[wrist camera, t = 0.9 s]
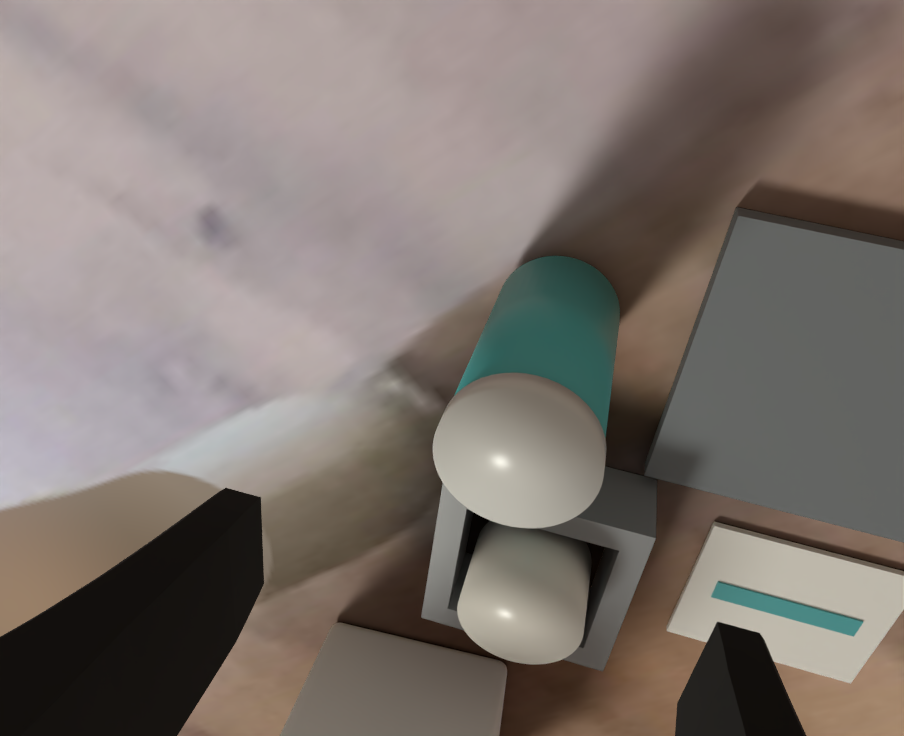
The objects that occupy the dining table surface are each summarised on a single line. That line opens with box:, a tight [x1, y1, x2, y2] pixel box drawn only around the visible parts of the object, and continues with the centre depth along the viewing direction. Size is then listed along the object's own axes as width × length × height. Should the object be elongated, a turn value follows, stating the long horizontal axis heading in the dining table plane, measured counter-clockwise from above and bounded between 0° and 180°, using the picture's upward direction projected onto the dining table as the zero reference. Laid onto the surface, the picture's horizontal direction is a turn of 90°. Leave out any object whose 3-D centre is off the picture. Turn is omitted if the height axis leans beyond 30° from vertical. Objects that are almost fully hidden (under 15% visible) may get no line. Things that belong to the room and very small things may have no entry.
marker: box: [433, 256, 620, 528], centre depth 17 cm, size 3×3×7 cm
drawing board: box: [644, 207, 904, 542], centre depth 19 cm, size 9×8×1 cm
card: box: [667, 522, 904, 683], centre depth 23 cm, size 6×5×1 cm
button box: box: [421, 466, 657, 671], centre depth 23 cm, size 6×6×2 cm
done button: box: [457, 521, 592, 665], centre depth 22 cm, size 4×4×3 cm
